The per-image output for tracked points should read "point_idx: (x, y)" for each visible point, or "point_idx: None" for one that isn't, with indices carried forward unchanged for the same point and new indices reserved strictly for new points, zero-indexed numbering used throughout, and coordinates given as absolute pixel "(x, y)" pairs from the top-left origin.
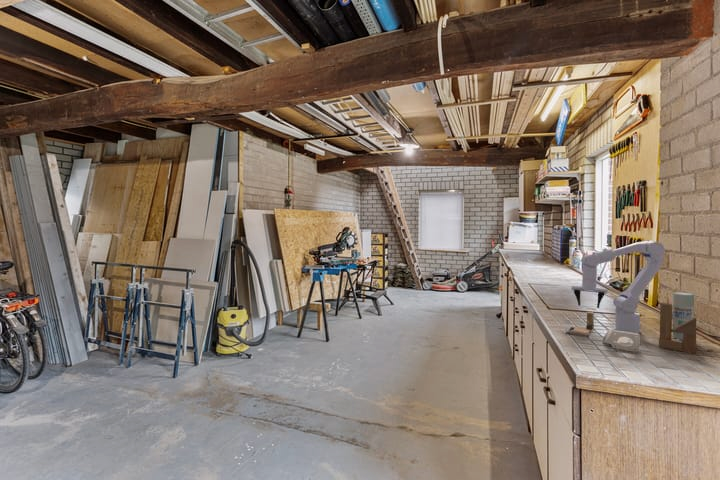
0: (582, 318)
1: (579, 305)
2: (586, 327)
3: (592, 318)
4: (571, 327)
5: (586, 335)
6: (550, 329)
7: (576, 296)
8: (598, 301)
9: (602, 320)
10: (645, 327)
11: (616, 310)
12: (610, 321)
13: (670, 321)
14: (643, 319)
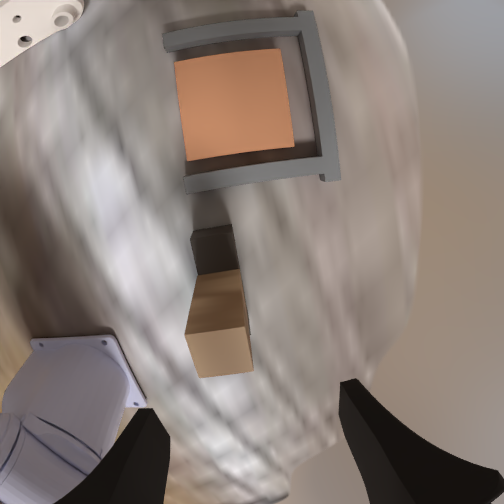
0: (308, 429)
1: (344, 382)
2: (230, 229)
3: (195, 305)
4: (319, 156)
5: (179, 33)
6: (405, 60)
7: (437, 453)
8: (115, 469)
9: (228, 450)
10: None
11: (78, 444)
12: (198, 453)
13: None
14: None
